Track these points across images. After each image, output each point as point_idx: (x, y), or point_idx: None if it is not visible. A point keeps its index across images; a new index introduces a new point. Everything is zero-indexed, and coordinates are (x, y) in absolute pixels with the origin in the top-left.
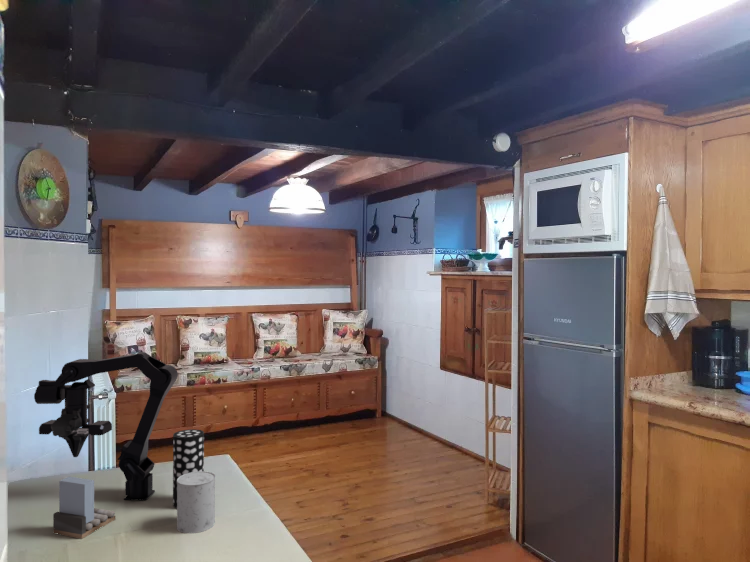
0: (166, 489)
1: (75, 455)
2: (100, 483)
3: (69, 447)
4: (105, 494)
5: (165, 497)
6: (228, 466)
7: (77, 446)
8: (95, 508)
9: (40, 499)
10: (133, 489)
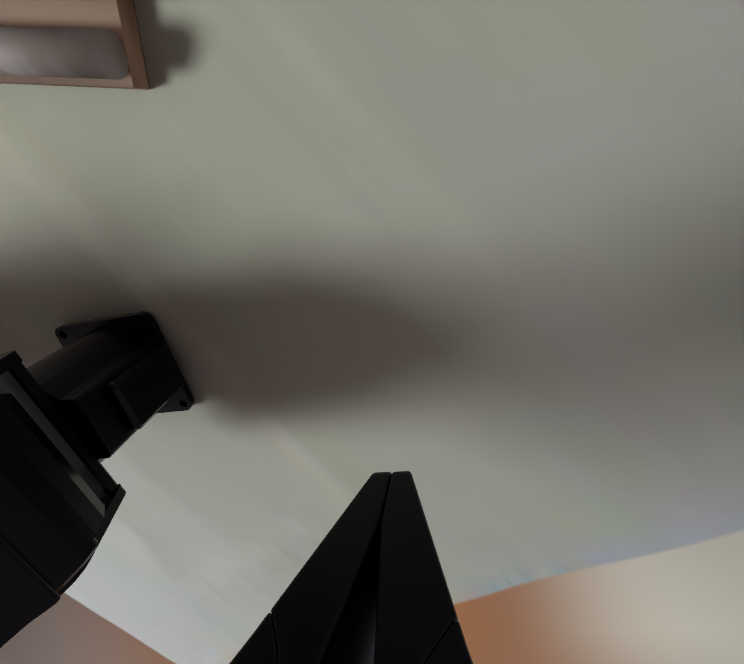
0: None
1: (375, 487)
2: (429, 462)
3: (446, 602)
4: (299, 357)
5: None
6: (99, 608)
7: (274, 622)
8: (14, 50)
9: (641, 221)
10: (73, 349)
